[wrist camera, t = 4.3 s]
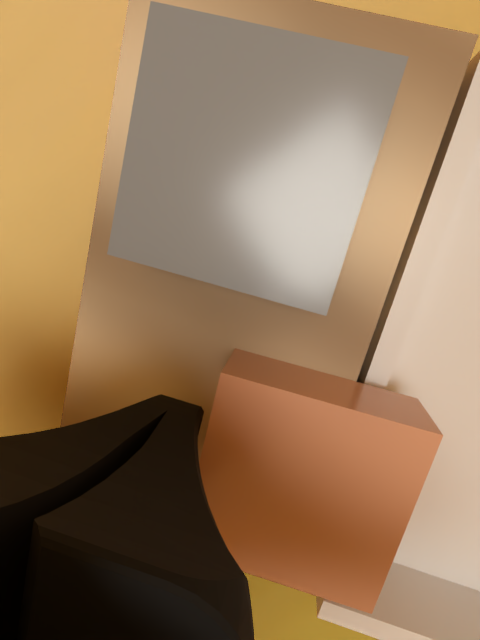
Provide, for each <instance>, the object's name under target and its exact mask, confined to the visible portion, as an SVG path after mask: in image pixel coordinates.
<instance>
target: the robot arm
mask: <svg viewBox="0 0 480 640" xmlns="http://www.w3.org/2000/svg"><path fill="white" fill-rule="evenodd" d="M203 414H204V411H203V409H202V407H201V406H198V405H195V404H191V403H188V402H185V401H182V400H178V399H175V398H172V397H169V396H165V395H162V394H160V395H157V396H154V397H151V398H148V399H146V400H143V401H141V402H138V403H136V404H133V405H130V406H128V407H125V408H122V409H120V410H117V411H114V412H111V413H108V414H105V415H102V416H99V417H96V418H92V419H89V420H86V421H83V422H80V423H76V424H72V425H68V426H64V427H60V428H55V429H50V430H45V431H41V432H35V433H29V434H21V435H14V436H6V437H0V640H254V629H253V619H252V609H251V601H250V594H249V586H248V580H247V578H246V576H245V575H244V573H243V572H242V570H241V569H240V567H239V565H238V564H237V562H236V561H235V559H234V558H233V556H232V555H231V553H230V552H229V550H228V548H227V546H226V544H225V542H224V540H223V538H222V536H221V534H220V532H219V530H218V527H217V525H216V522H215V520H214V517H213V515H212V512H211V510H210V507H209V504H208V501H207V497H206V494H205V491H204V486H203V482H202V478H201V472H200V466H199V457H198V434H199V430H200V426H201V422H202V418H203Z"/></svg>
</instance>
